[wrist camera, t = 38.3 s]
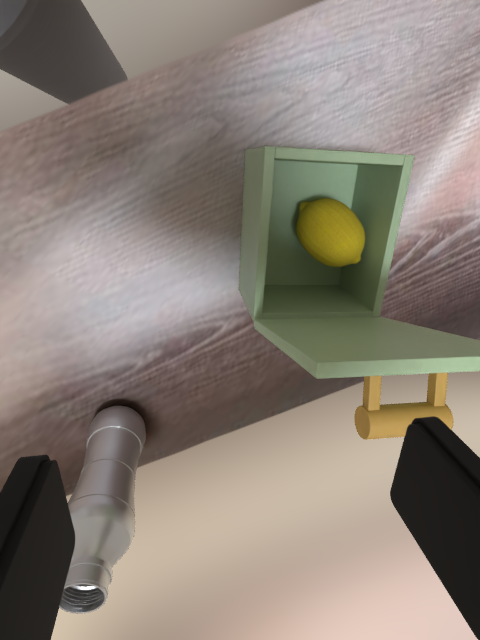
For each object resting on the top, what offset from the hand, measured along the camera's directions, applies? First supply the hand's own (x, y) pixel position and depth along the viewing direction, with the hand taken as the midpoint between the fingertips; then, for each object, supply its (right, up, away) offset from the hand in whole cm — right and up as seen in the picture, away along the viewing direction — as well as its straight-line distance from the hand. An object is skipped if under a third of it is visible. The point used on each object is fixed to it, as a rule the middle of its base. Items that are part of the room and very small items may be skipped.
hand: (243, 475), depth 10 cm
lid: (+8, +3, +16) cm, 18 cm away
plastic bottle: (-15, -8, +35) cm, 39 cm away
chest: (+6, +14, +28) cm, 32 cm away
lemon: (+6, +16, +26) cm, 31 cm away
